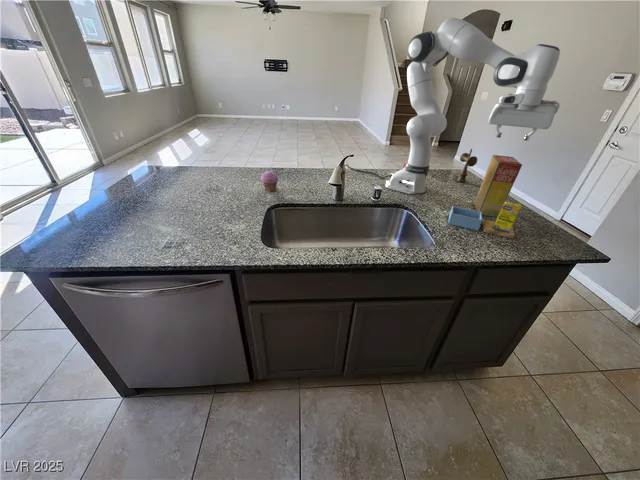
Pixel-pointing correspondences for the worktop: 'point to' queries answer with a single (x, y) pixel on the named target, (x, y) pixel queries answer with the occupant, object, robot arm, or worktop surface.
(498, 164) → the food packaging
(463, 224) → the basket
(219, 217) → the worktop surface
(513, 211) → the supplement box
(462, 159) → the kendama
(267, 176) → the cupcake
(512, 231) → the oak board
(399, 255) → the worktop surface
